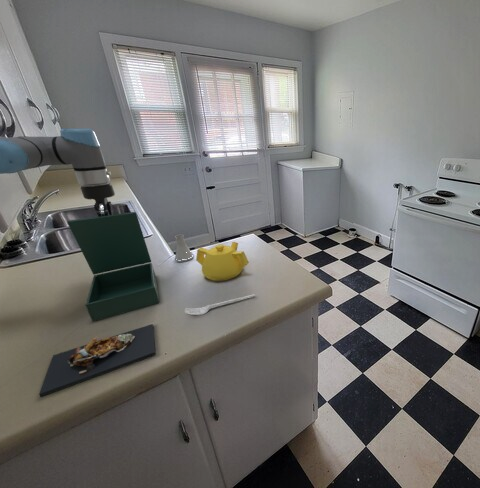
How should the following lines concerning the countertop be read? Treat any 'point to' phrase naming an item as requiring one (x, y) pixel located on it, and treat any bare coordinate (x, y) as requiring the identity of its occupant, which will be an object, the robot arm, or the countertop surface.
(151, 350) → the trivet mat
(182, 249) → the flask
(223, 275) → the teapot
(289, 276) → the countertop surface
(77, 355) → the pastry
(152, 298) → the box
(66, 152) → the robot arm
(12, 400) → the countertop surface
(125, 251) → the box lid
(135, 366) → the countertop surface
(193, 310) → the white spoon
